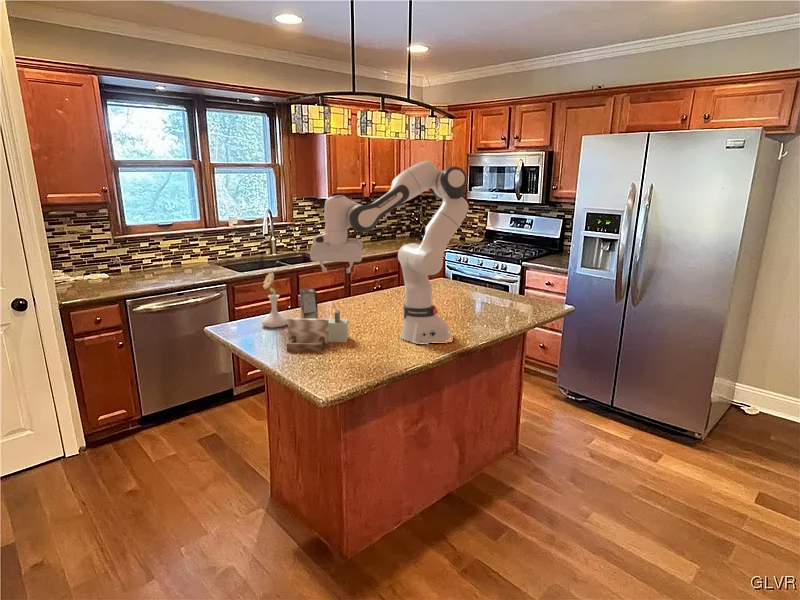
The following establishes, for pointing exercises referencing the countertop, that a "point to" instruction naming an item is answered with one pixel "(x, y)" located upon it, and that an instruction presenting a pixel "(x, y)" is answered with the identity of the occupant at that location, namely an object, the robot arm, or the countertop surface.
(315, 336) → the tan lidded box
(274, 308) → the flower in vase
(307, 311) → the coffee box
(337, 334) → the cube with grey handle
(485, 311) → the countertop surface
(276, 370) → the countertop surface
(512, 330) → the countertop surface
